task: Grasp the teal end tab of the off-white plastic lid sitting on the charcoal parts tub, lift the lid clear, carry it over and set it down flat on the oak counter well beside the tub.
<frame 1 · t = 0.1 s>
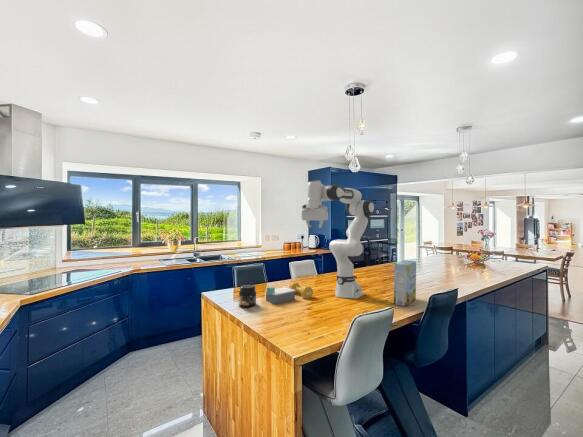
hand: (314, 227, 180), 48 cm above the table, fingers open, 8 cm apart
supplement container: (247, 306, 177), on the table
part b: (276, 300, 186), point 1 cm above the table, touching tub
tub: (280, 300, 188), on the table
dumbbell: (300, 296, 200), on the table
snack box: (405, 302, 185), on the table
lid: (280, 291, 188), point 6 cm above the table, touching tub
part a: (284, 299, 190), point 1 cm above the table, touching tub
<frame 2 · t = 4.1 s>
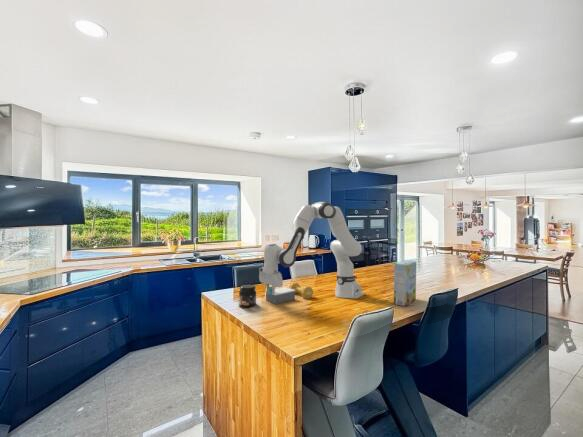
hand: (270, 291, 182), 7 cm above the table, fingers closed on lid, 3 cm apart
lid: (280, 291, 188), point 6 cm above the table, touching gripper, tub
everything else where it was.
when the fingers open (3 cm above the table, at t = 12.4 s): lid drops 2 cm, on the table.
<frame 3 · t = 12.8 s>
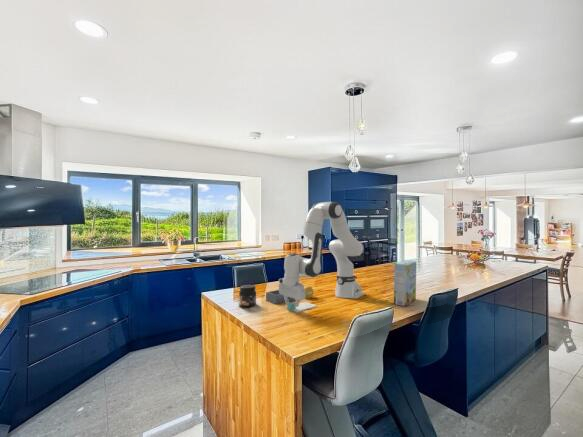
hand: (291, 304, 169), 3 cm above the table, fingers open, 7 cm apart
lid: (301, 307, 174), on the table
everything else where it was.
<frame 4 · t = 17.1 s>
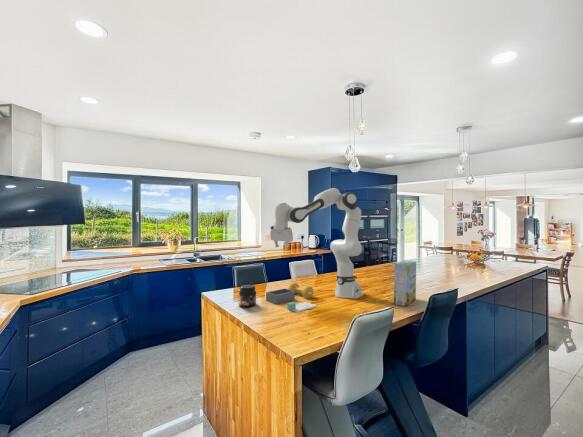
hand: (281, 247, 193), 34 cm above the table, fingers open, 8 cm apart
nothing on the table moved.
at the end: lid inside the target area (3.9 cm from its centre), on the table; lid touching table; the gripper is holding nothing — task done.
